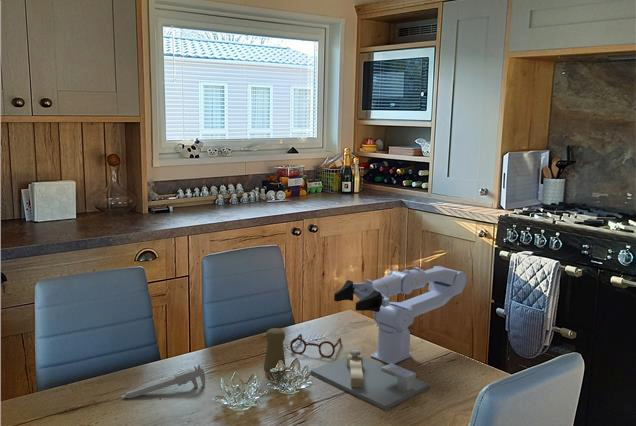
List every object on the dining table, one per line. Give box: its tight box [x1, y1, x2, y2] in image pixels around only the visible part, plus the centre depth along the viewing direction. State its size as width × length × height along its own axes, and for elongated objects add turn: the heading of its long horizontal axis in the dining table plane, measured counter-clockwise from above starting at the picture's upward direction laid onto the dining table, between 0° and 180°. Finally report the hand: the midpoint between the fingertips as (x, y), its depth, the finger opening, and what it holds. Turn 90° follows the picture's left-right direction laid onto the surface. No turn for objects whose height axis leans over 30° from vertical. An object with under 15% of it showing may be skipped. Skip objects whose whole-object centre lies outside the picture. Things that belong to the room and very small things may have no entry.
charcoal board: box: [310, 354, 431, 411], centre depth 161 cm, size 18×26×1 cm
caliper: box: [120, 363, 206, 400], centre depth 151 cm, size 20×1×6 cm, turn 113°
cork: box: [263, 327, 286, 373], centre depth 166 cm, size 6×6×11 cm
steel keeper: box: [381, 363, 417, 393], centre depth 156 cm, size 8×4×4 cm, turn 44°
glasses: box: [290, 333, 342, 359], centre depth 182 cm, size 13×13×5 cm
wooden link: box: [347, 349, 363, 387], centre depth 162 cm, size 15×4×4 cm, turn 179°
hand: (345, 302), depth 159 cm, fingers open, 7 cm apart
